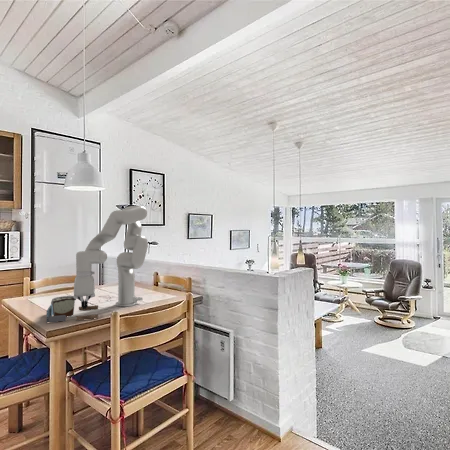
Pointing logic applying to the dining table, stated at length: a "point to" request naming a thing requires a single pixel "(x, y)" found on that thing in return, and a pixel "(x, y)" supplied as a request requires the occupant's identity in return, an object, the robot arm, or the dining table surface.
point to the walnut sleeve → (87, 315)
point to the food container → (63, 305)
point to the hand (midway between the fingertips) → (84, 308)
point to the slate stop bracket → (54, 318)
